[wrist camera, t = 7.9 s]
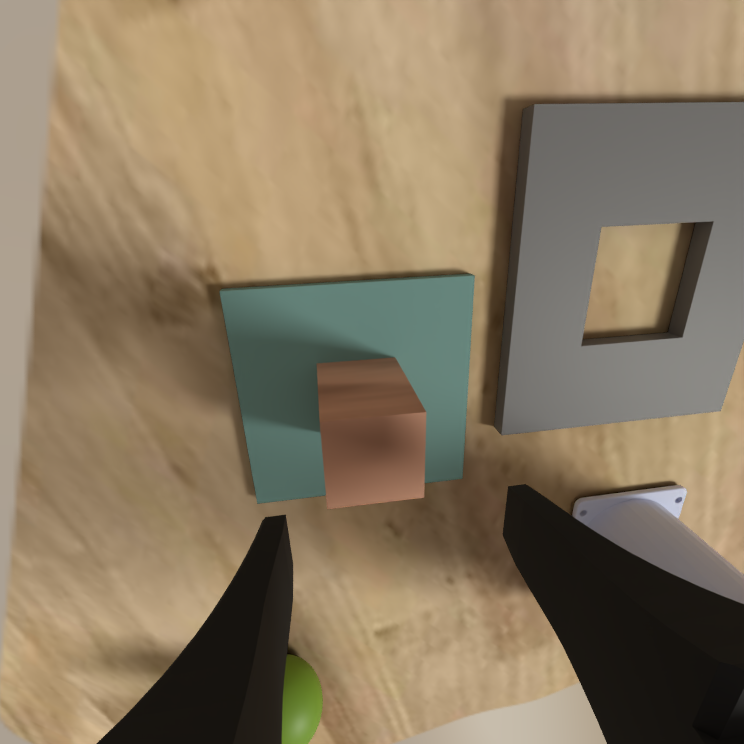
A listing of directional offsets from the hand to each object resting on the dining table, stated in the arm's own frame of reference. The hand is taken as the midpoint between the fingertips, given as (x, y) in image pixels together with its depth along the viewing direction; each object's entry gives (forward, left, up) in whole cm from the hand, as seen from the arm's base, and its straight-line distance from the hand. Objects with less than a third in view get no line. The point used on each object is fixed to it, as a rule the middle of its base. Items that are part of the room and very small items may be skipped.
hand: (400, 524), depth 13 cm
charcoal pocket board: (+5, -15, -10) cm, 18 cm away
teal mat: (0, 0, -10) cm, 10 cm away
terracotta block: (0, 0, -9) cm, 9 cm away
